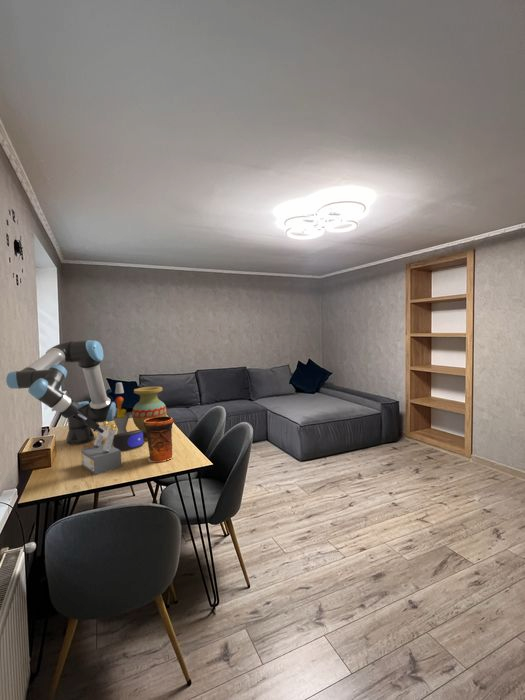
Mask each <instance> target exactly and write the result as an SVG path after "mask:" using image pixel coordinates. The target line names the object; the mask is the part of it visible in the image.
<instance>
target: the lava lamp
mask: <svg viewBox="0 0 525 700" xmlns="http://www.w3.org/2000/svg"><path fill="white" fill-rule="evenodd" d="M124 393H125V391H124V386H123V383H122V382H116V383H115V391H114V394H116V395H117V394H124ZM123 403H124V397H122V396H117V397H115V404H116V411H117V415H115V416H114V417H113V422H114V425H116V428H117V430H116V431H117V432H116V434H120V433H125V432H128V431H127V426H128V422H129V418H130V415H129V414H127V410H126V409H125V408H122V404H123Z"/></svg>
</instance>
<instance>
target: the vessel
mask: <svg viewBox="0 0 525 700" xmlns="http://www.w3.org/2000/svg"><path fill="white" fill-rule="evenodd" d="M174 422H175V421H174V419H173V417H171V416H161V417H154V418H149V419H146V420H144V426H145V428H146V431H147V440H148V441H147V446H148V453H149V456H148V457H147V459H148V461H149V462H150V463H152V462H153V463H158V462H167V461H166V460H169V459H170V458H172V455H173V437H172V436H173V433H172V429H173V424H174ZM169 461H170V460H169Z"/></svg>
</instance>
